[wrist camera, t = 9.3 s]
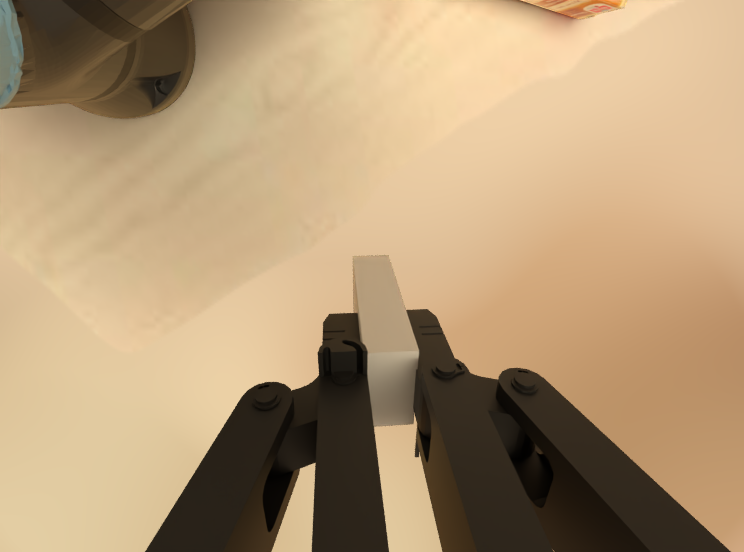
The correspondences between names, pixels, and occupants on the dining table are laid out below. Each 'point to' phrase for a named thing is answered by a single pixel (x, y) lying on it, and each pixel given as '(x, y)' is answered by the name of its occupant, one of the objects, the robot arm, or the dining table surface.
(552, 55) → the dining table surface
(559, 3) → the coffeecake box
